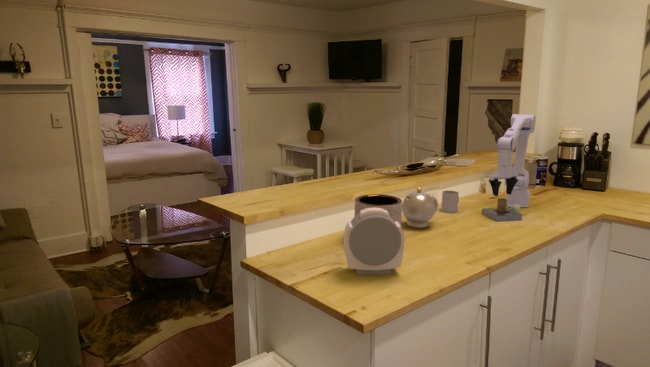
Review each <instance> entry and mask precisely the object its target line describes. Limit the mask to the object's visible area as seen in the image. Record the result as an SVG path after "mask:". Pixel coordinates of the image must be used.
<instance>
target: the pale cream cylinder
mask: <svg viewBox="0 0 650 367" xmlns="http://www.w3.org/2000/svg"><path fill="white" fill-rule="evenodd" d="M520 208H521V207H520V205H518V204H512V206H511V207H510V209H511V210H513V211H515V212H518V213H520V211H521V209H520ZM520 214H521V213H520Z"/></svg>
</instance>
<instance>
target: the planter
mask: <svg viewBox="0 0 650 367" xmlns="http://www.w3.org/2000/svg"><path fill="white" fill-rule="evenodd" d="M402 203H403V200H402V199H401V198H400V197H398V196H394V195H390V194H389V195H388V194H377V193H376V194H375V193H374V194H373V193H372V194H364V195H359V196H357V197H356V198H354V216H353V218H354V217H355V216H356V215H357V214H359V213H360V211H361V210H364V209H366V208H382V209H384V210H387V212H388V213H389V216H390V217H391V218H392V219H393V221H394V222H396V221H398V223H399V224H400V226H401V228H403V227H402V222H403V221H402V220H403V219H402V218H403V213H402Z"/></svg>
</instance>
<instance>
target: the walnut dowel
mask: <svg viewBox="0 0 650 367" xmlns="http://www.w3.org/2000/svg"><path fill="white" fill-rule="evenodd" d="M506 204H507V198H497V207H496V208H497V212H498V213H506V207H507V206H506Z"/></svg>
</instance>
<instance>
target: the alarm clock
mask: <svg viewBox="0 0 650 367" xmlns="http://www.w3.org/2000/svg"><path fill="white" fill-rule="evenodd" d="M354 216H355V215H354ZM354 216H353V218H352V220H350V221H347V223H346V225H345V228H344V231H343V232H344V233H343V244H344V246H343V247H344V254H345V258H346V260H345V261H346V265H347V269H353V270H355V272H356V276H357V275H358V276H360V275H361V276H362V275H363V276H364V275H365V276H366V275H367V276H370V275H373V276H374V275H378V276H379V275H392V269H398V268H401V265H402V262H403V259H404V252H405V241H406V240H405V235H404V234H405V233H404V230H403V229H402V228H403V227H402V228H401V226H400V224H399V223H398V221H396V222H394V221H393V219H392V218H391V217H390V216H389V213H388V212H387V210H384V209H382V208H366V209H364V210H361V211H360V213H359V214H357V215H356V216H355V217H354Z"/></svg>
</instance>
